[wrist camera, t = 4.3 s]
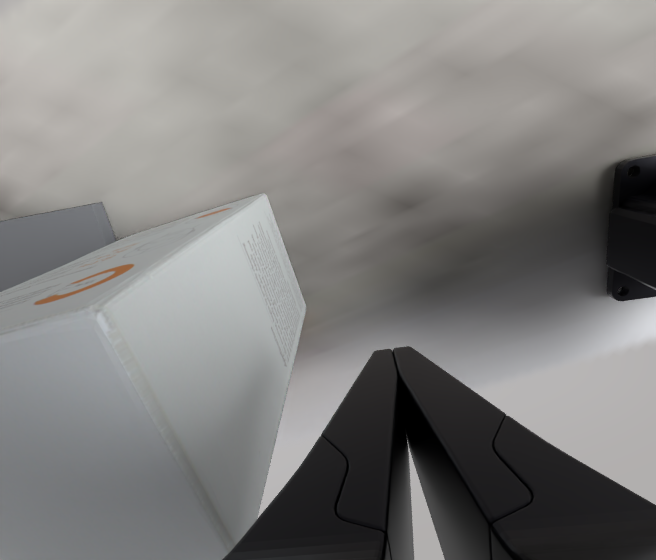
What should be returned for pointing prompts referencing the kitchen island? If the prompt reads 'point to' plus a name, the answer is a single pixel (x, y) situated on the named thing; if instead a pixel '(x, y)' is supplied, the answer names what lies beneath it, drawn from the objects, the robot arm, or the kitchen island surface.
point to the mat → (50, 241)
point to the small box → (147, 391)
